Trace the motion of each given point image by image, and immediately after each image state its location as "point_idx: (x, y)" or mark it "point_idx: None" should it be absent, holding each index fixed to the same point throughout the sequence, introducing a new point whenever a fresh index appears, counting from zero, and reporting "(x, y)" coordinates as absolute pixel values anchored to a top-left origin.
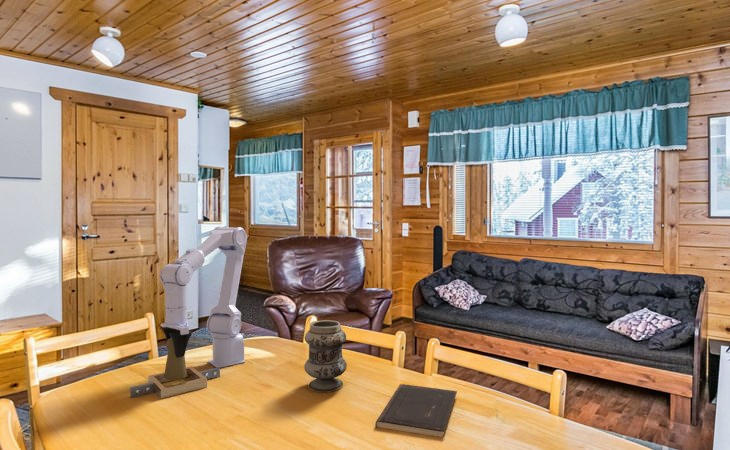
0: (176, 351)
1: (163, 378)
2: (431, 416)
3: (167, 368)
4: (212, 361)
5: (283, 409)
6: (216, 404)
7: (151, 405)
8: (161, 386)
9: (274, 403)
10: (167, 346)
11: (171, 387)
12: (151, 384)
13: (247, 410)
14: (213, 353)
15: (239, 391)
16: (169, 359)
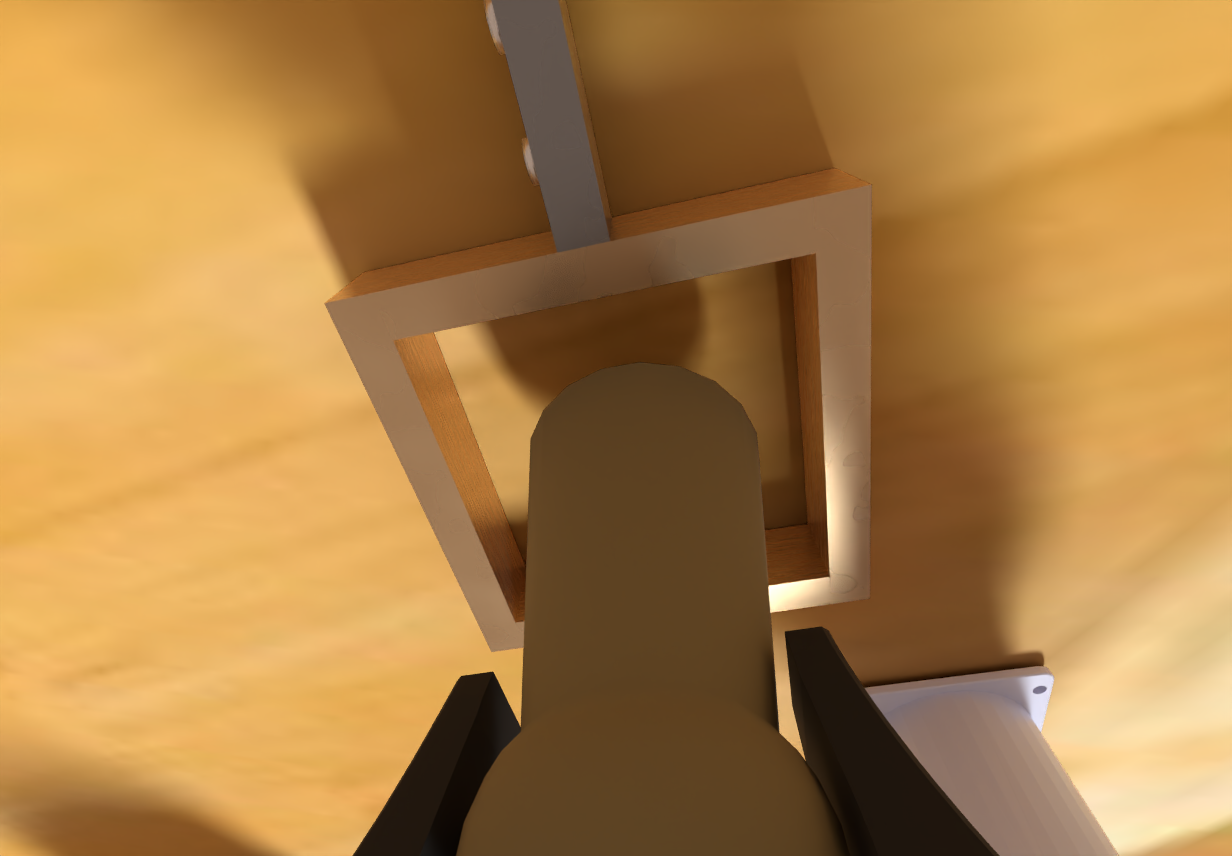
0: (409, 780)
1: (807, 339)
2: None
3: (580, 461)
4: (1000, 691)
5: (71, 806)
6: (169, 601)
7: (211, 173)
8: (417, 315)
9: (151, 795)
10: (566, 768)
11: (374, 401)
12: (548, 211)
13: (62, 704)
14: (993, 771)
15: (362, 717)
16: (565, 569)
